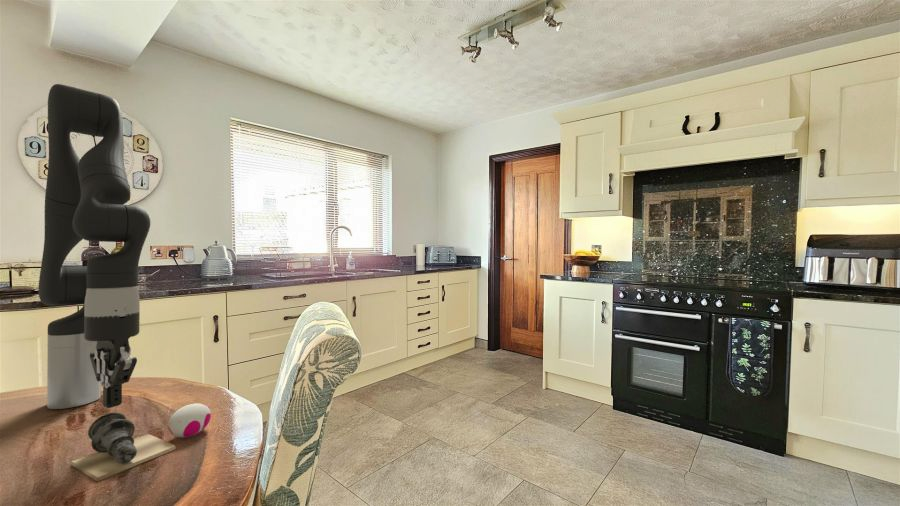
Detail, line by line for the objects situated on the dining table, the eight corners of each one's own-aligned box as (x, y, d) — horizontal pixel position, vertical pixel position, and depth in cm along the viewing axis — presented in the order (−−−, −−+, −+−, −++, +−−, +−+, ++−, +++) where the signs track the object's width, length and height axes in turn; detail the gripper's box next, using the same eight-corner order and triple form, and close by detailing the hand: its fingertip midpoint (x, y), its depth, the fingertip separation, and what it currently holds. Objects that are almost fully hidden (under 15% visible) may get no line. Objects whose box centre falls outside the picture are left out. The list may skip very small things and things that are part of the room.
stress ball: (180, 461, 70) (194, 435, 69) (153, 433, 71) (167, 407, 70) (215, 440, 77) (229, 416, 76) (190, 415, 79) (203, 392, 78)
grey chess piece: (95, 449, 67) (116, 486, 60) (78, 427, 64) (99, 463, 58) (133, 426, 71) (157, 457, 65) (119, 404, 68) (143, 435, 62)
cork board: (71, 464, 63) (71, 461, 63) (148, 436, 73) (148, 433, 73) (97, 481, 58) (97, 477, 58) (175, 449, 68) (175, 445, 68)
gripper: (70, 312, 68) (69, 406, 68) (102, 317, 62) (101, 421, 61) (121, 307, 74) (121, 393, 74) (155, 311, 68) (154, 405, 68)
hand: (112, 405), depth 68 cm, fingers closed
